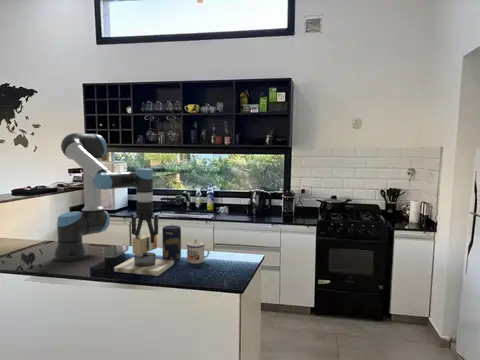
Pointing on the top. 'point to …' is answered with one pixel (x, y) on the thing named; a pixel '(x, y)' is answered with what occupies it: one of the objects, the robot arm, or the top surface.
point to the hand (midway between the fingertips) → (145, 249)
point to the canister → (171, 242)
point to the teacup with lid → (196, 251)
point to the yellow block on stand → (144, 251)
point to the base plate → (144, 267)
